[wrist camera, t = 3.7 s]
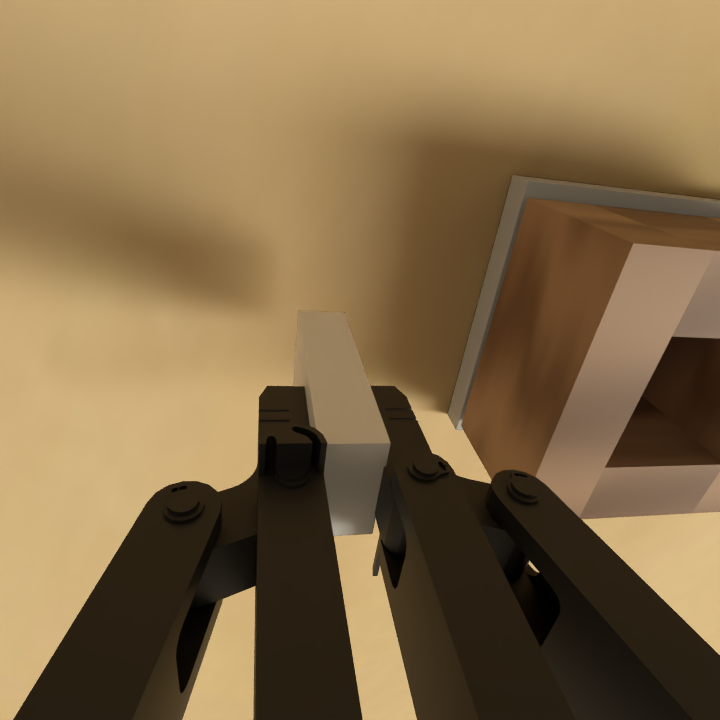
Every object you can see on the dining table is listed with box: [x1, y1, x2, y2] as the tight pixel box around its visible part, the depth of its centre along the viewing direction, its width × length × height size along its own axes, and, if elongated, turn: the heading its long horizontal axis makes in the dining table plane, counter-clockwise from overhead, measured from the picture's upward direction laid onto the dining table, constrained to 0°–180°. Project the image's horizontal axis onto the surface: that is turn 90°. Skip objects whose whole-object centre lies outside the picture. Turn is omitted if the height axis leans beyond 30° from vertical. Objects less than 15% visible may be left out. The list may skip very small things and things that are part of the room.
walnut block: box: [461, 197, 720, 519], centre depth 17 cm, size 10×10×6 cm
